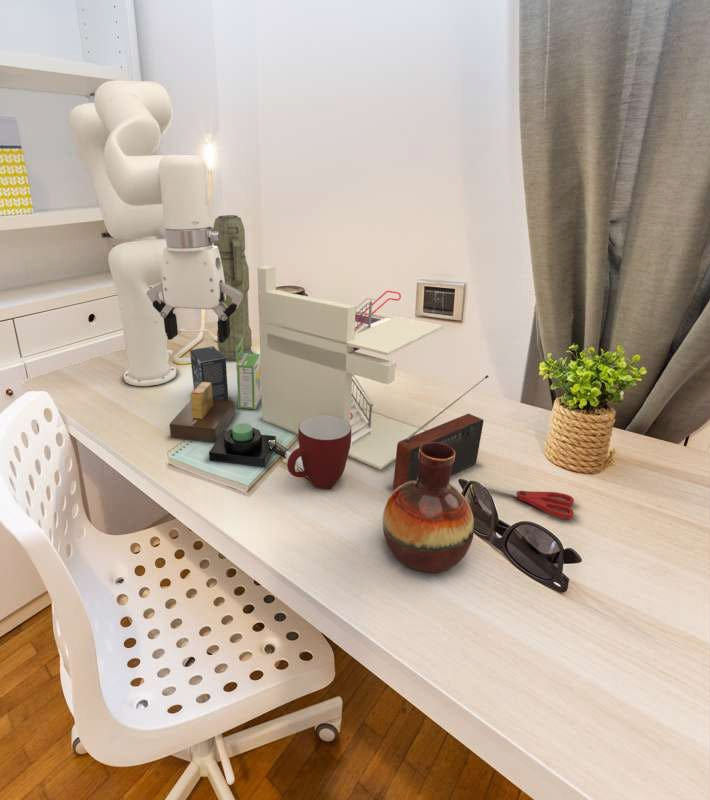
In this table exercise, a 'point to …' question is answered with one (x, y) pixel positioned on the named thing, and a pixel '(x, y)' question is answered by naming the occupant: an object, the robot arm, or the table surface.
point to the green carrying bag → (234, 282)
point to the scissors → (544, 501)
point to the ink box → (248, 378)
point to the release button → (242, 432)
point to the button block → (242, 449)
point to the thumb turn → (201, 400)
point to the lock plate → (203, 422)
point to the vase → (429, 515)
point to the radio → (454, 433)
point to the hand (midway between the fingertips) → (197, 338)
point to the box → (210, 370)
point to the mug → (322, 450)
